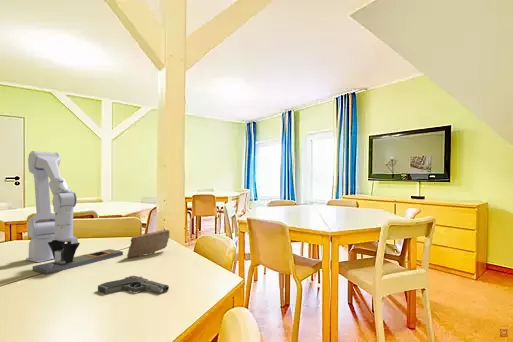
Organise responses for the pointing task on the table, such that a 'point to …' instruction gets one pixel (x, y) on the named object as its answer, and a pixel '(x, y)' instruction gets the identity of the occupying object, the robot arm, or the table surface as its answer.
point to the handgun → (132, 285)
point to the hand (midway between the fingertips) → (63, 261)
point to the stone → (148, 243)
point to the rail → (77, 261)
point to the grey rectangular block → (60, 257)
